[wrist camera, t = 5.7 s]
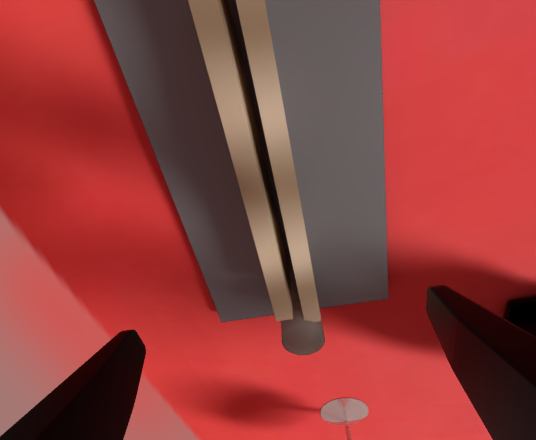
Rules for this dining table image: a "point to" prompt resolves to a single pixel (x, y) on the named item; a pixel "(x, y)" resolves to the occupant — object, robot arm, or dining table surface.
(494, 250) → the dining table surface
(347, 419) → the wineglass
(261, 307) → the serving board
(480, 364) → the robot arm
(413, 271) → the dining table surface
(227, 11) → the tongs arm
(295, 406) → the dining table surface
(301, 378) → the dining table surface
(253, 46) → the arm
